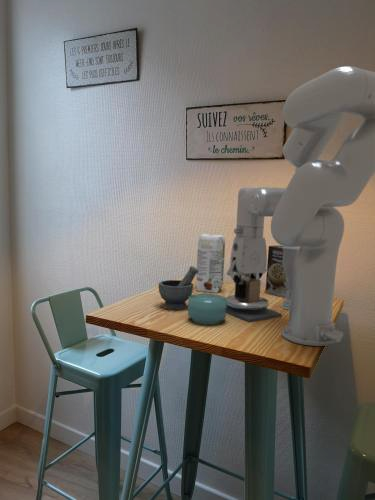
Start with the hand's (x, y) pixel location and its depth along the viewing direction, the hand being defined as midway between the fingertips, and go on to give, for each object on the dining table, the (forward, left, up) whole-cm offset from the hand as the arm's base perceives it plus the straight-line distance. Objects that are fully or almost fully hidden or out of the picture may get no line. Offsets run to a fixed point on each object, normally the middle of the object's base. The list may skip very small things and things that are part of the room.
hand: (245, 296), depth 122 cm
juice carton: (+25, -6, -5) cm, 26 cm away
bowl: (-2, +15, -4) cm, 16 cm away
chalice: (-3, -15, -5) cm, 16 cm away
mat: (0, 0, -4) cm, 4 cm away
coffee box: (+10, -25, -5) cm, 27 cm away
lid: (0, 0, -2) cm, 2 cm away
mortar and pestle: (+12, +15, -5) cm, 20 cm away
